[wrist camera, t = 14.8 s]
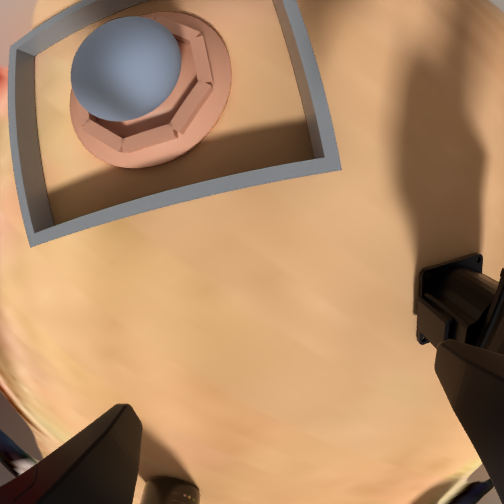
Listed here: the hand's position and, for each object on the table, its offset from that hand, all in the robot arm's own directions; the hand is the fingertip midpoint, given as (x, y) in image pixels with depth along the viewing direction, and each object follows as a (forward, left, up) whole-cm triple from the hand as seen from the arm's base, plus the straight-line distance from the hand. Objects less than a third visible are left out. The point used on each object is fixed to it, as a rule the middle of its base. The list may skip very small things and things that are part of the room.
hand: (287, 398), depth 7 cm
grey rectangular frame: (+5, -13, -12) cm, 18 cm away
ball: (+5, -13, -8) cm, 16 cm away
